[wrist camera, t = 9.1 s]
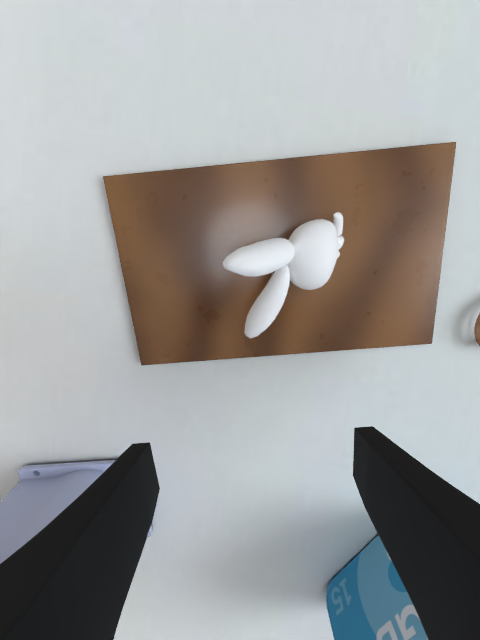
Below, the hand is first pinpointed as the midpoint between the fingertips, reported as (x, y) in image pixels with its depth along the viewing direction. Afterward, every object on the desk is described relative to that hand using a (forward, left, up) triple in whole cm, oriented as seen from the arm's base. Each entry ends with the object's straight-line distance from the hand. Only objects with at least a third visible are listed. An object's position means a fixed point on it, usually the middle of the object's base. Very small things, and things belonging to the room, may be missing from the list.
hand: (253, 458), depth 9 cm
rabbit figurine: (+2, +6, -10) cm, 11 cm away
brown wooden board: (+3, +6, -10) cm, 12 cm away
